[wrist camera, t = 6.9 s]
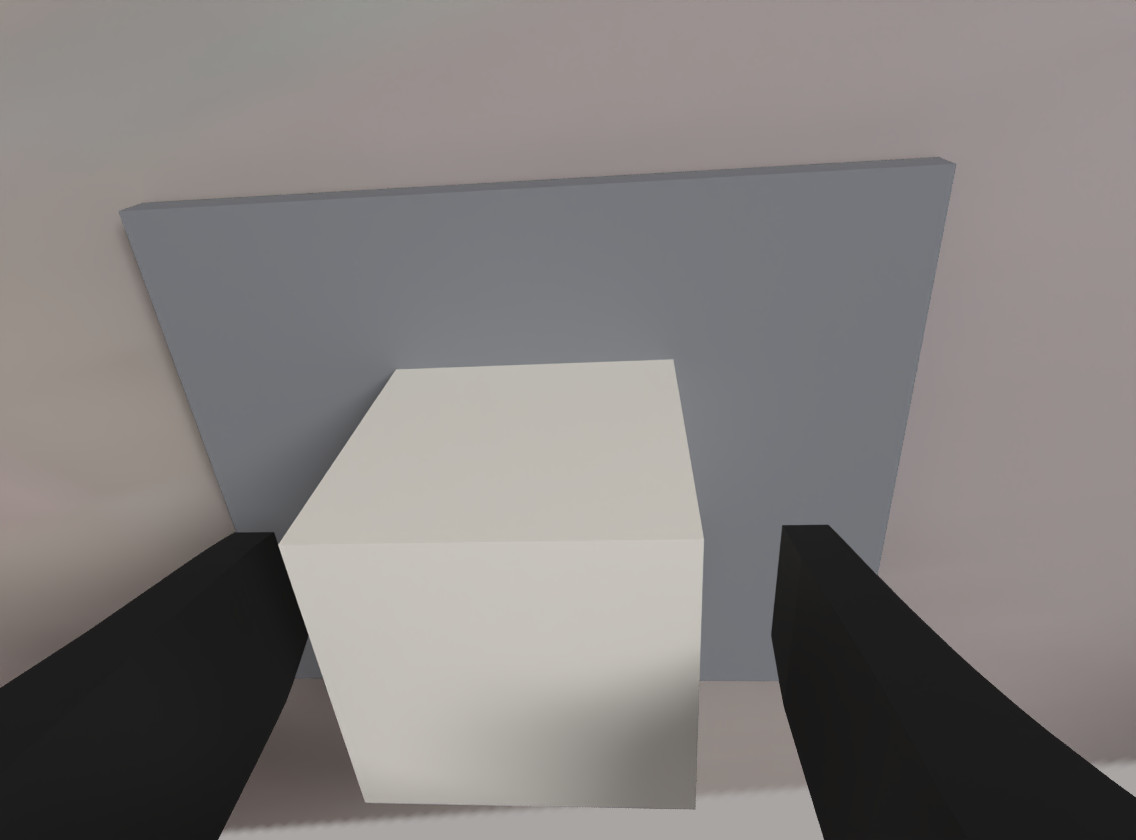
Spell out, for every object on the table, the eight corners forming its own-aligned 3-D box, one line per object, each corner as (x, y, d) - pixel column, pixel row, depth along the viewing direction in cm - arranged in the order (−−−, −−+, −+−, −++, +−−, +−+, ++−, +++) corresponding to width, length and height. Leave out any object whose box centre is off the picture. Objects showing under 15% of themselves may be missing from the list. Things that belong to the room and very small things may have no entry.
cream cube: (673, 359, 11) (704, 539, 7) (672, 578, 13) (695, 809, 9) (396, 369, 11) (278, 544, 7) (439, 580, 14) (365, 802, 10)
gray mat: (937, 157, 10) (955, 163, 9) (848, 658, 15) (857, 681, 14) (143, 203, 11) (118, 211, 10) (301, 656, 16) (290, 678, 15)
